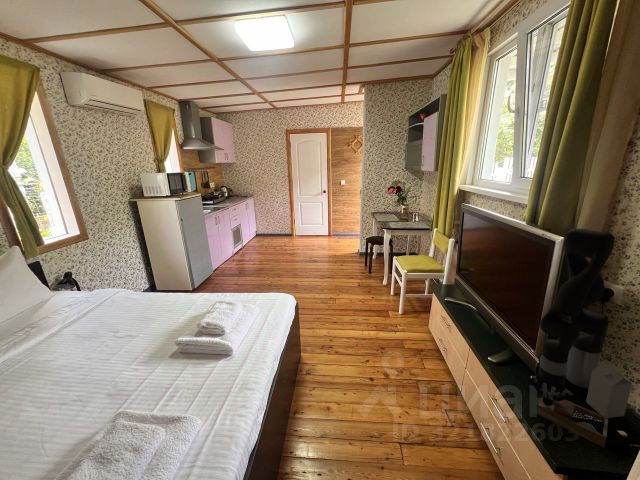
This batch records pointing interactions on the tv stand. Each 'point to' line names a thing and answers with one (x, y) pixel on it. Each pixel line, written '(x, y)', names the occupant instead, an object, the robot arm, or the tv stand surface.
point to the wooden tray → (576, 427)
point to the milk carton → (608, 391)
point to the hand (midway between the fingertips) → (547, 404)
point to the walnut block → (564, 409)
